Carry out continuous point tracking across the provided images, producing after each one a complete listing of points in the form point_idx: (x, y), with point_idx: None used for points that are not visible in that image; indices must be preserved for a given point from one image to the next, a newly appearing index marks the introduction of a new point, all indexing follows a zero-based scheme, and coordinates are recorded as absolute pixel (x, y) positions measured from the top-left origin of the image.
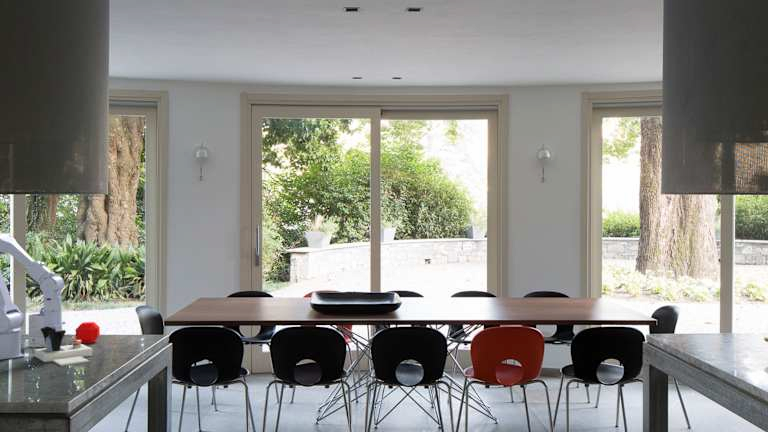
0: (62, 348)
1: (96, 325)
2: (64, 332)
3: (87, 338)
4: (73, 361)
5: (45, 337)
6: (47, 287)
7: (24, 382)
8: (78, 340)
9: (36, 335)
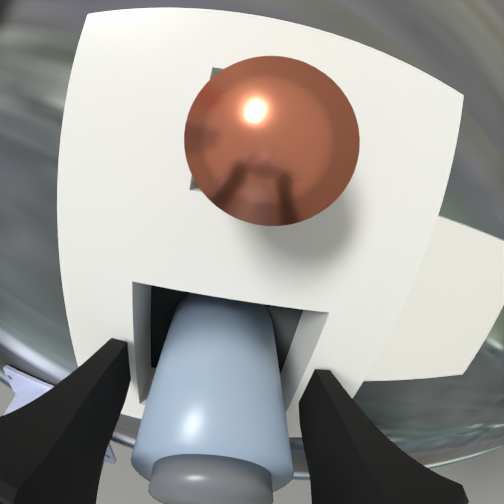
0: (196, 286)
1: None
2: (458, 492)
3: None
4: (485, 318)
5: (99, 462)
6: None
7: (469, 445)
8: (308, 122)
9: None
